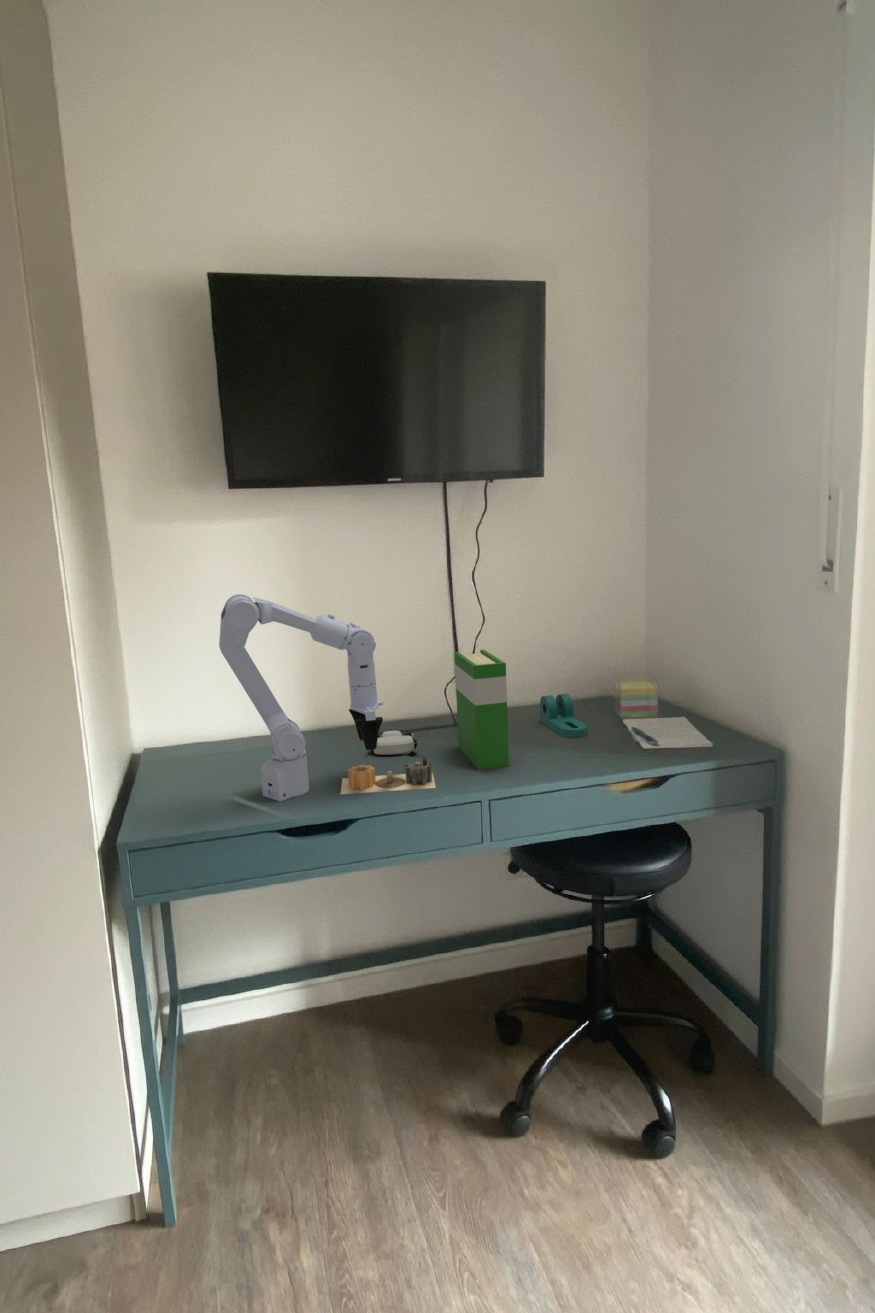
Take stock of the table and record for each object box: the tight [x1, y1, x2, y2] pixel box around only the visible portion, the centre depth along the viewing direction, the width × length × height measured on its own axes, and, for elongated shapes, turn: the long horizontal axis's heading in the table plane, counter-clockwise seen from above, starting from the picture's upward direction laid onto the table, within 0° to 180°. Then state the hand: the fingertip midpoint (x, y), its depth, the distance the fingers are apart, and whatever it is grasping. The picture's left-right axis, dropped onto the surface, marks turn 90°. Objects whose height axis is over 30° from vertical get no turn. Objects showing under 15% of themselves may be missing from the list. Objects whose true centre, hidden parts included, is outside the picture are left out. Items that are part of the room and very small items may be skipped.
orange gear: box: [347, 764, 376, 789], centre depth 176 cm, size 6×6×4 cm
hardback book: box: [454, 649, 510, 771], centre depth 192 cm, size 18×7×24 cm, turn 13°
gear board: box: [340, 756, 437, 795], centre depth 176 cm, size 20×10×6 cm, turn 94°
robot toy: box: [370, 730, 420, 756], centre depth 201 cm, size 12×4×15 cm
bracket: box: [539, 693, 588, 739], centre depth 213 cm, size 18×7×8 cm, turn 14°
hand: (367, 744), depth 178 cm, fingers open, 7 cm apart
